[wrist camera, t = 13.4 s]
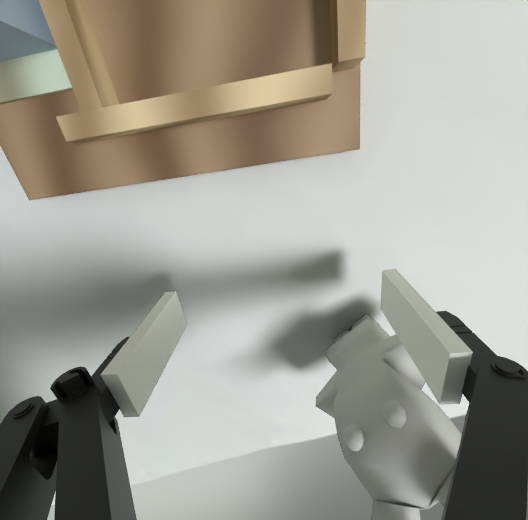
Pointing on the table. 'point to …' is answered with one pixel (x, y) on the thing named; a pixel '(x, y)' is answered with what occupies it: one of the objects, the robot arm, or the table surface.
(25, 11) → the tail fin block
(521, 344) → the table surface
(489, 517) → the robot arm
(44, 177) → the jig
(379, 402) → the bunny figurine
